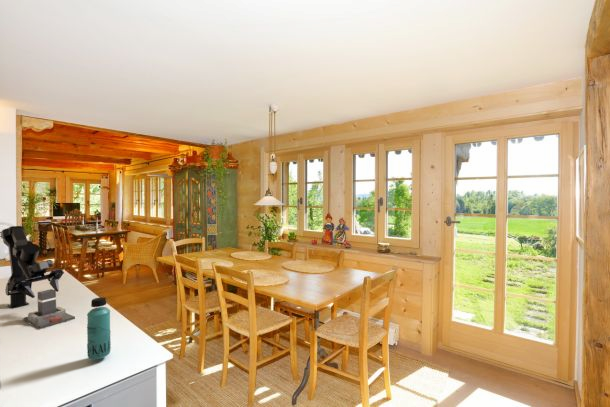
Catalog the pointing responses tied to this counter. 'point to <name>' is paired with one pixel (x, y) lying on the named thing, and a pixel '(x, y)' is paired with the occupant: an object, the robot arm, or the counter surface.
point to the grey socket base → (48, 318)
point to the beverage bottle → (98, 330)
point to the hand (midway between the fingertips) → (46, 294)
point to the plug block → (46, 302)
